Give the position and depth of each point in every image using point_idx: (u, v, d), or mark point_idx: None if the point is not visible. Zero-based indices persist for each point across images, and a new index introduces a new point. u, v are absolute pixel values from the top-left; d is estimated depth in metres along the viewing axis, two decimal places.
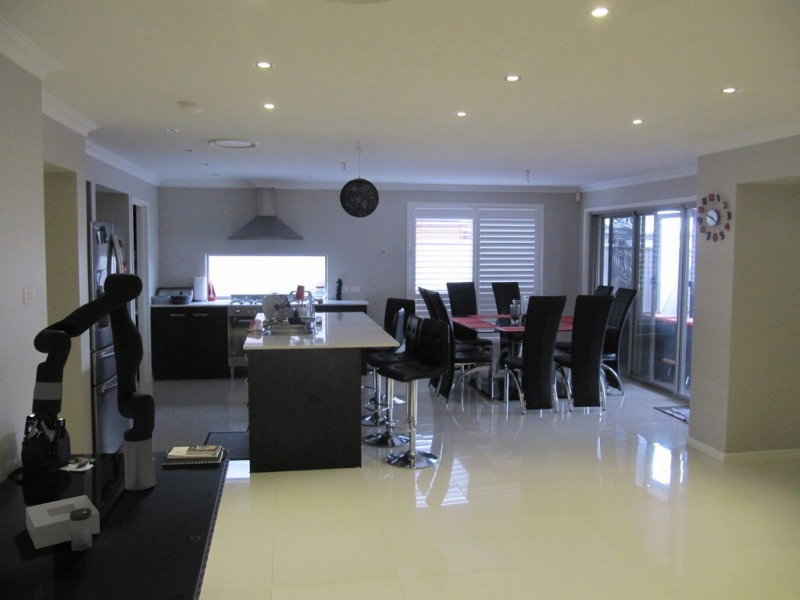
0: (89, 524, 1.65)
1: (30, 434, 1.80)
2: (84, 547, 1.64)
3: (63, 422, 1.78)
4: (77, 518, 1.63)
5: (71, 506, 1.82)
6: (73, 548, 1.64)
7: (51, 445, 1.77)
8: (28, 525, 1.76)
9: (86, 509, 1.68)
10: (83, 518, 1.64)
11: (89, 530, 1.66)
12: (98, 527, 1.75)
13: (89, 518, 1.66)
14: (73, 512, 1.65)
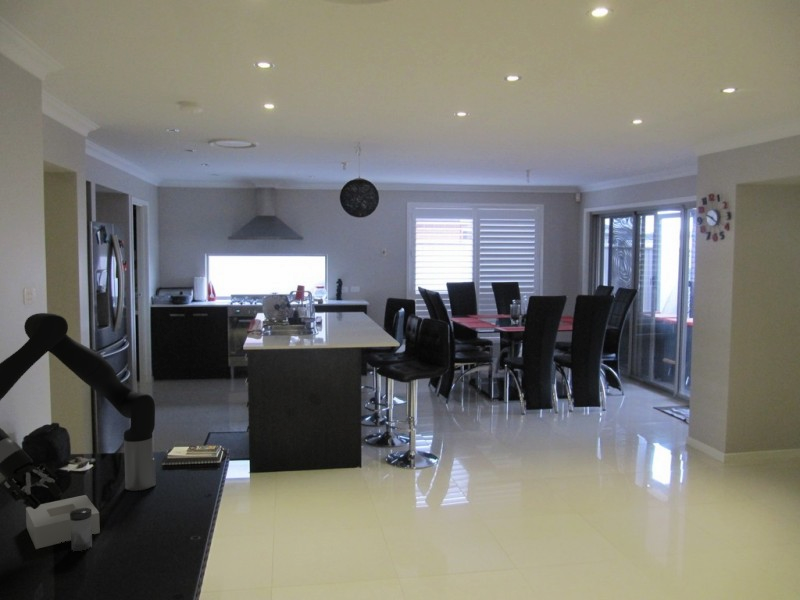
0: (89, 524, 1.65)
1: None
2: (84, 547, 1.64)
3: (8, 483, 1.60)
4: (77, 518, 1.63)
5: (71, 506, 1.82)
6: (73, 548, 1.64)
7: None
8: (28, 525, 1.76)
9: (86, 509, 1.68)
10: (83, 518, 1.64)
11: (89, 530, 1.66)
12: (98, 527, 1.75)
13: (89, 518, 1.66)
14: (73, 512, 1.65)
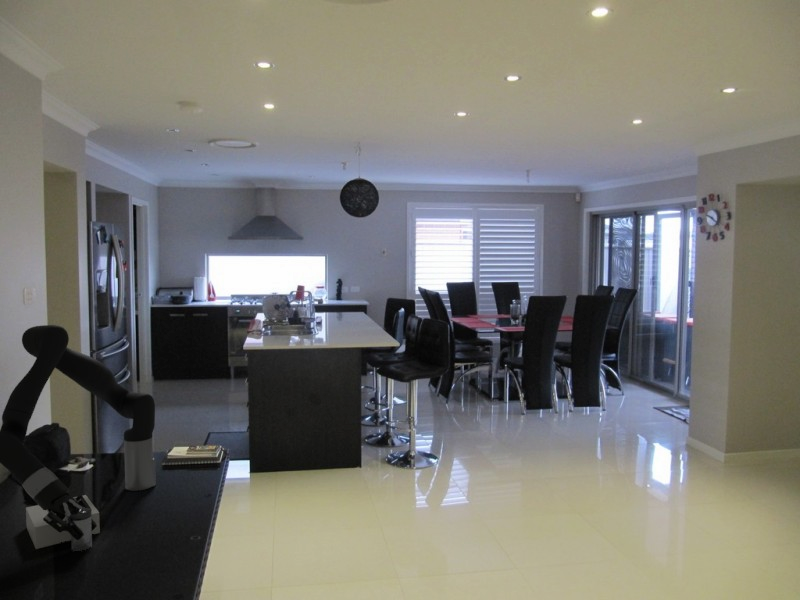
0: (89, 524, 1.65)
1: None
2: (84, 547, 1.64)
3: (49, 517, 1.60)
4: (77, 518, 1.63)
5: None
6: (73, 548, 1.64)
7: None
8: (28, 525, 1.76)
9: (86, 509, 1.68)
10: (83, 518, 1.64)
11: (89, 530, 1.66)
12: (98, 527, 1.75)
13: (89, 518, 1.66)
14: (73, 512, 1.65)
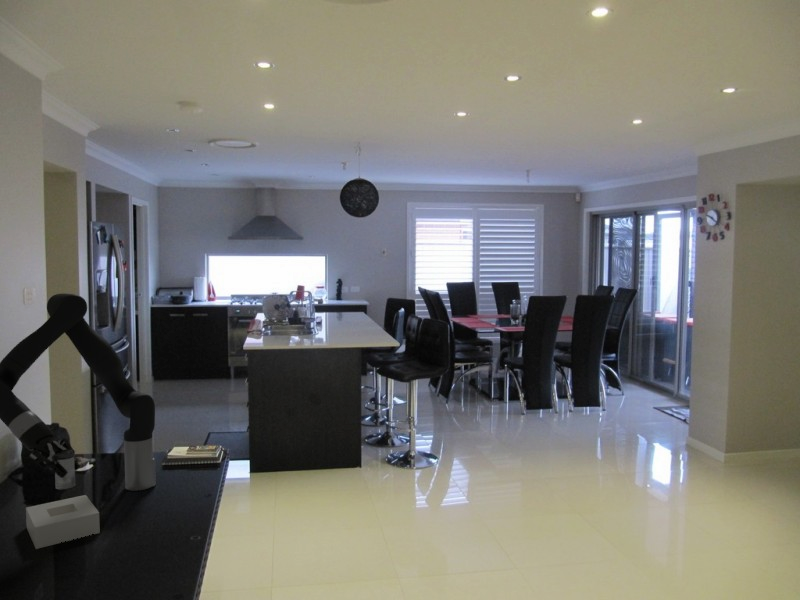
0: (72, 463, 1.74)
1: None
2: (67, 485, 1.73)
3: (34, 455, 1.68)
4: (61, 457, 1.72)
5: (71, 506, 1.82)
6: (57, 486, 1.73)
7: None
8: (28, 525, 1.76)
9: (69, 450, 1.76)
10: (66, 457, 1.73)
11: (72, 469, 1.74)
12: (98, 527, 1.75)
13: (72, 458, 1.74)
14: (57, 452, 1.74)
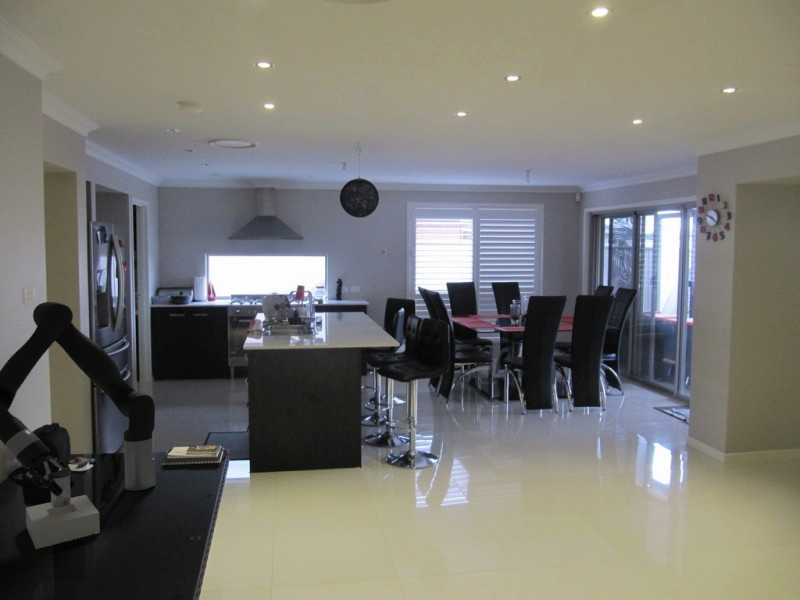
0: (68, 482, 1.76)
1: None
2: (63, 503, 1.75)
3: (30, 474, 1.70)
4: (57, 475, 1.74)
5: (71, 506, 1.82)
6: (52, 504, 1.75)
7: None
8: (28, 525, 1.76)
9: (65, 468, 1.78)
10: (62, 476, 1.75)
11: (68, 488, 1.76)
12: (98, 527, 1.75)
13: (68, 476, 1.76)
14: (53, 470, 1.76)
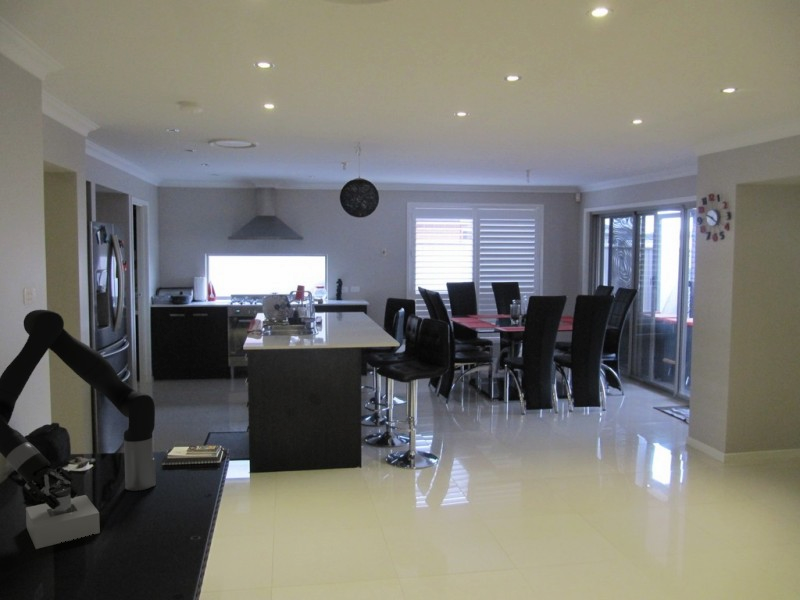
0: (68, 501, 1.77)
1: None
2: None
3: (28, 485, 1.70)
4: (57, 495, 1.74)
5: (71, 506, 1.82)
6: None
7: None
8: (28, 525, 1.76)
9: (66, 487, 1.79)
10: (62, 495, 1.75)
11: (68, 507, 1.77)
12: (98, 527, 1.75)
13: (68, 496, 1.77)
14: (53, 490, 1.76)
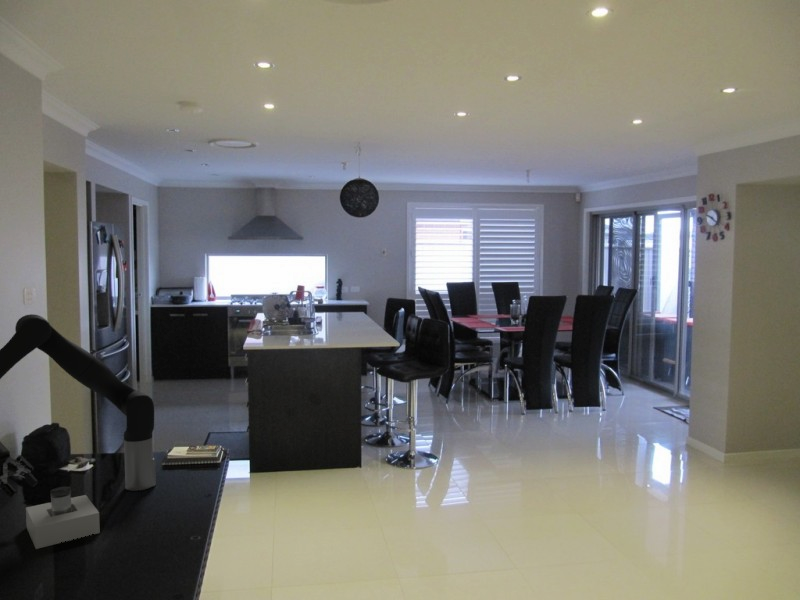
0: (68, 501, 1.77)
1: None
2: None
3: None
4: (57, 495, 1.74)
5: (71, 506, 1.82)
6: None
7: None
8: (28, 525, 1.76)
9: (66, 487, 1.79)
10: (63, 495, 1.75)
11: (68, 507, 1.77)
12: (98, 527, 1.75)
13: (69, 495, 1.77)
14: (53, 490, 1.76)
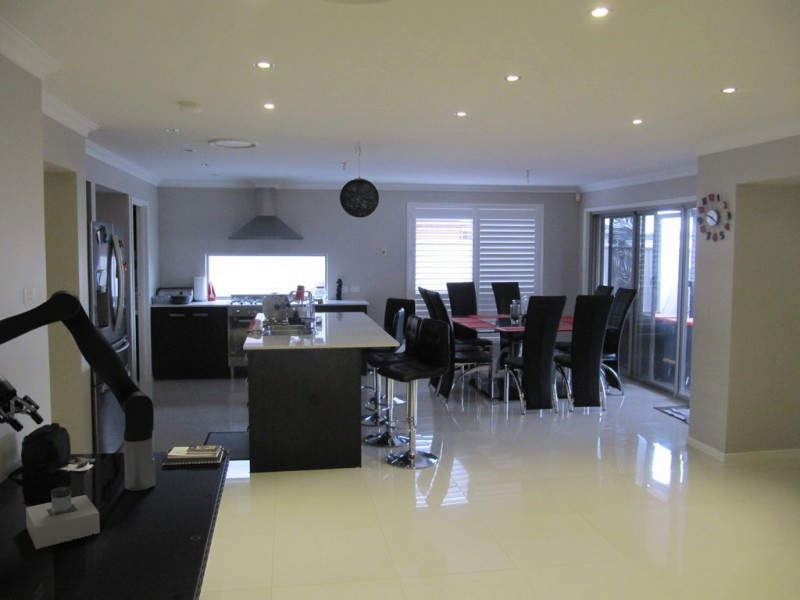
0: (69, 501, 1.77)
1: None
2: None
3: None
4: (58, 495, 1.74)
5: (71, 506, 1.82)
6: None
7: None
8: (28, 525, 1.76)
9: (66, 487, 1.79)
10: (63, 495, 1.75)
11: (69, 507, 1.77)
12: (98, 527, 1.75)
13: (69, 496, 1.77)
14: (54, 490, 1.76)
